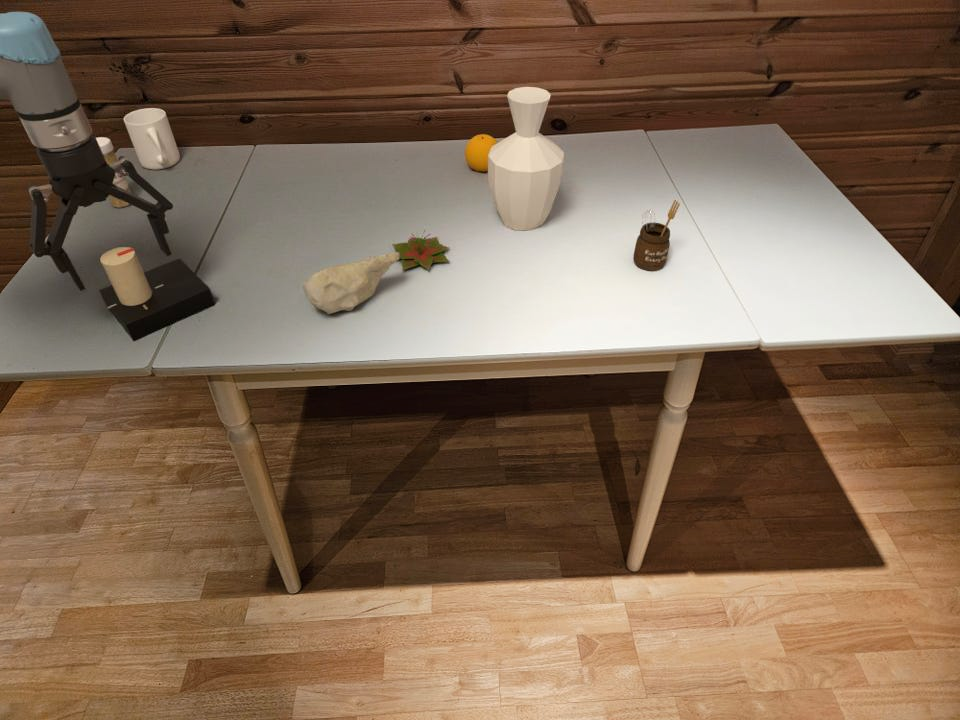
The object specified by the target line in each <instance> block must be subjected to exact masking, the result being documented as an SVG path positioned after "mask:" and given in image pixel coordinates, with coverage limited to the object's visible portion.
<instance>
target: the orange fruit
mask: <svg viewBox="0 0 960 720" xmlns="http://www.w3.org/2000/svg"><path fill="white" fill-rule="evenodd" d="M497 143H499V142H498V141H497V139H495V137H493V136H491V135H489V134H486V133H482V134H476V135H475V136H473V137H471V138H470V139H469V140H468V142H467V144H466V146H465V149H464V157H465V161H466V163H467V166H469V167H470V168H471V169H473V170H474V171H476V172H488V155H489V152H490V150H491V147H492V146H494V145H495V144H497Z"/></svg>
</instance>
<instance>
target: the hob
mask: <svg viewBox="0 0 960 720" xmlns="http://www.w3.org/2000/svg"><path fill="white" fill-rule="evenodd" d="M143 272H144V274H145V277H146V279H147V281H148V284H149V286H150V288H151V290H152V296H151V297H150V299H149V300H147V301H146V302H144V303H142V304H139V305H135V306H126V305H123V304H122V303H121V302H120V300H119V298H118V296H117V294H116V292H115V290H114V288H113V286H112V284H111V285H109V286H106V287H104V288H101V289H99V290H98V292H99V294H100V296H101V298H102V300H103V302H104V304H105V306H106V308H107V309H108V310H109V312H111V314H112V315H113V316H114V318H115V320H117V322H118V323H119V324H120V326H121V327H122V328H123V329H124V331H125V332H126V333H127V335H128V336H129V337H130V339H131V340H132V341H133V342H135V341H137V340H140V339H142V338H145V337H147V336H149V335H152V334H153V333H156V332H158V331H160V330H162V329H165V328H166V327H169V326H172V325H173V324H176V323H178V322H180V321H183V320H184V319H187V318H189V317H191V316H193V315H196V314H198V313H200V312H202V311H205V310H207V309H209V308H212V307H214V306H216V302H215V299H214V297H213V294H212V291H211V288H210V287H209V286H208V285H207V284H206V283H205V282H204V281H203V280H202V279H201V278H200V277H199V276H198V275H197V274H196V273H195V272H194V271H193V270H192V268H190V266H188V265H187V264H186V263H185V261H183V260H182V259H181V258H180V257H179V258H176V259H174V260H171V261H169V262H166V263H164V264H161V265H158V266H157V267H154V268H151V269H149V270H146V271H143Z"/></svg>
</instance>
